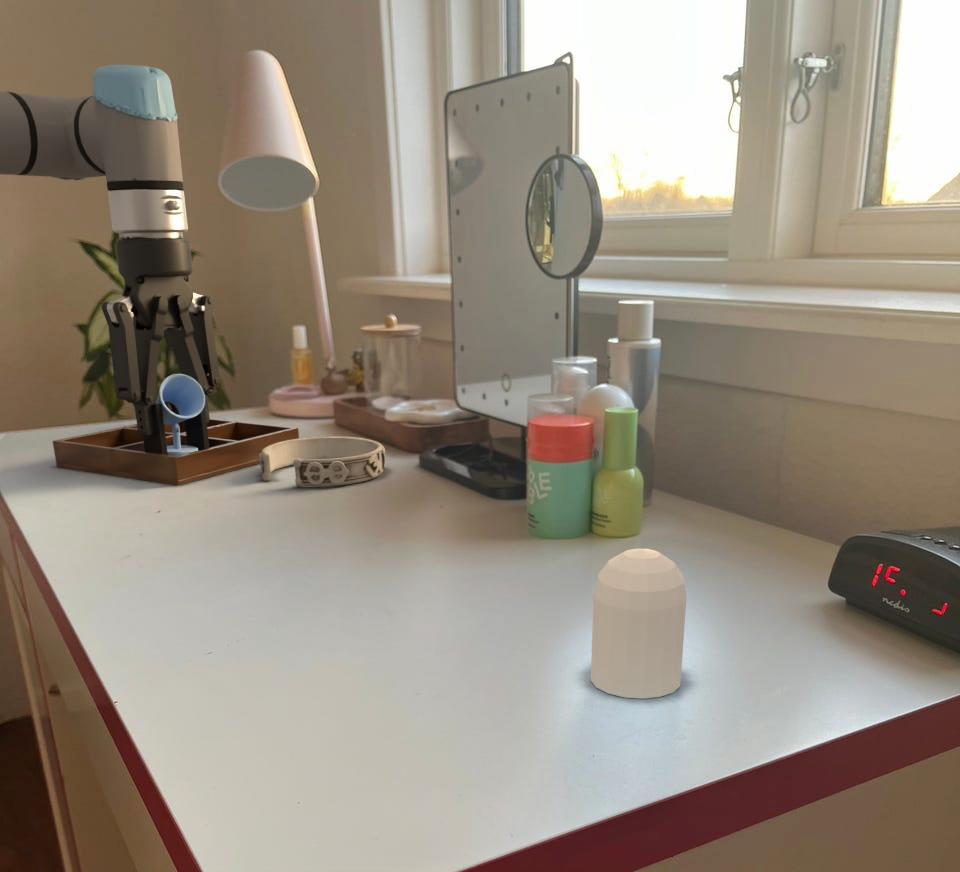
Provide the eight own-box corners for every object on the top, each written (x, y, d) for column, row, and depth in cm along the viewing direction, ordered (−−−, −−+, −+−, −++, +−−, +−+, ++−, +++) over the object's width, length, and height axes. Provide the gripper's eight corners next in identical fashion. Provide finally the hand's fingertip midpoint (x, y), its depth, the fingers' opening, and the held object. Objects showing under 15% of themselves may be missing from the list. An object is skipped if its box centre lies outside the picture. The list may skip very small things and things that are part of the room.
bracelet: (395, 483, 109) (394, 455, 108) (264, 491, 106) (262, 462, 105) (375, 457, 121) (374, 432, 120) (258, 464, 118) (255, 438, 117)
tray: (56, 466, 119) (52, 440, 117) (183, 438, 134) (180, 415, 133) (178, 485, 109) (175, 457, 108) (300, 452, 125) (298, 427, 124)
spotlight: (212, 467, 114) (190, 457, 119) (207, 375, 111) (184, 369, 116) (168, 470, 111) (147, 460, 117) (161, 376, 108) (140, 370, 113)
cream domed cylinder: (625, 655, 64) (631, 532, 61) (698, 678, 61) (708, 549, 58) (572, 680, 61) (575, 551, 58) (646, 706, 57) (653, 570, 54)
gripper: (104, 236, 97) (137, 478, 106) (241, 235, 112) (260, 447, 120) (52, 237, 101) (88, 470, 109) (191, 235, 116) (214, 441, 124)
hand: (178, 458), depth 115 cm, fingers closed on spotlight, 5 cm apart
